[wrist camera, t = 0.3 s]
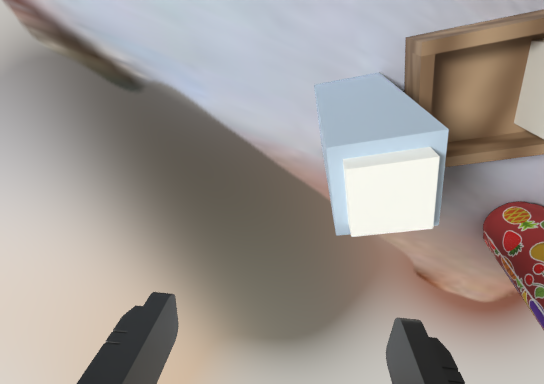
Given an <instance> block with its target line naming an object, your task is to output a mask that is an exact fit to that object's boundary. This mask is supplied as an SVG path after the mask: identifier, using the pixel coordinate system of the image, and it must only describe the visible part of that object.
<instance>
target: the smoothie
mask: <svg viewBox="0 0 544 384" xmlns="http://www.w3.org/2000/svg"><path fill="white" fill-rule="evenodd" d="M483 231H484V240H485V242H486V244H487V246H488V247H489V249H490V250H491V252H492V253H493V255H494V256H495V258H496V259H497V261H498V262H499V264H500V265H501V267H502V268H503V270H504V271H505V273H506V274H507V276H508V277H509V279H510V280H511V282H512V283H513V285H514V286H515V288H516V289H517V291H518V292H519V294H520V295H521V297H522V298H523V300H524V301H525V303H526V304H527V306H528V307H529V309H530V310H531V312H532V313H533V315H534V316H535V317H536V319H537V321H538V322H539V324H540V325H541V327H542V328H543V330H544V207H543V206H540V205H537V204H530V203H527V202H512V203H507V204H505V205H502V206H500V207H498V208H497V209H495V210H494V211H492V212H491V213H490V214H489V215H488V217H487V218H486V220H485V222H484V224H483Z"/></svg>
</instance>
